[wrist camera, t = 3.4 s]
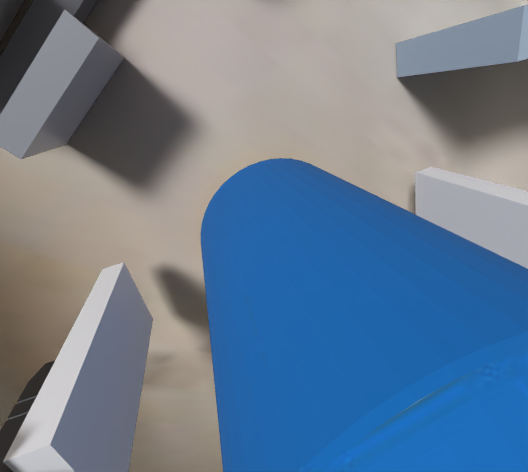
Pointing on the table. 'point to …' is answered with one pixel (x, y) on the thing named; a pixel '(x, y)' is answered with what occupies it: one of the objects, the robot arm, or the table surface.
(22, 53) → the clip
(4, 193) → the table surface
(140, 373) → the robot arm
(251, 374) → the beverage can
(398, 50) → the end holder
